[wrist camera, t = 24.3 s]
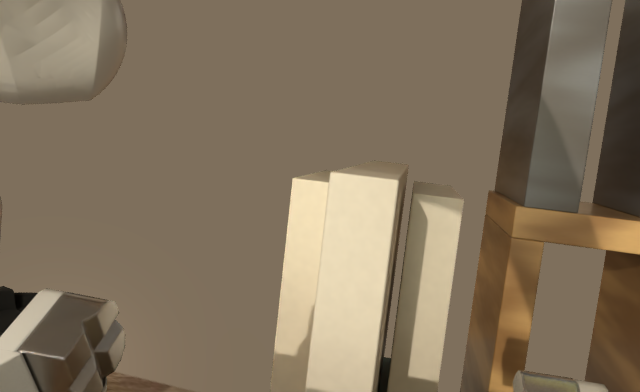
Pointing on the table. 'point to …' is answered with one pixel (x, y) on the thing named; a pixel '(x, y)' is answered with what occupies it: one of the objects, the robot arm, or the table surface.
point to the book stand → (562, 193)
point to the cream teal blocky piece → (414, 297)
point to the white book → (356, 277)
